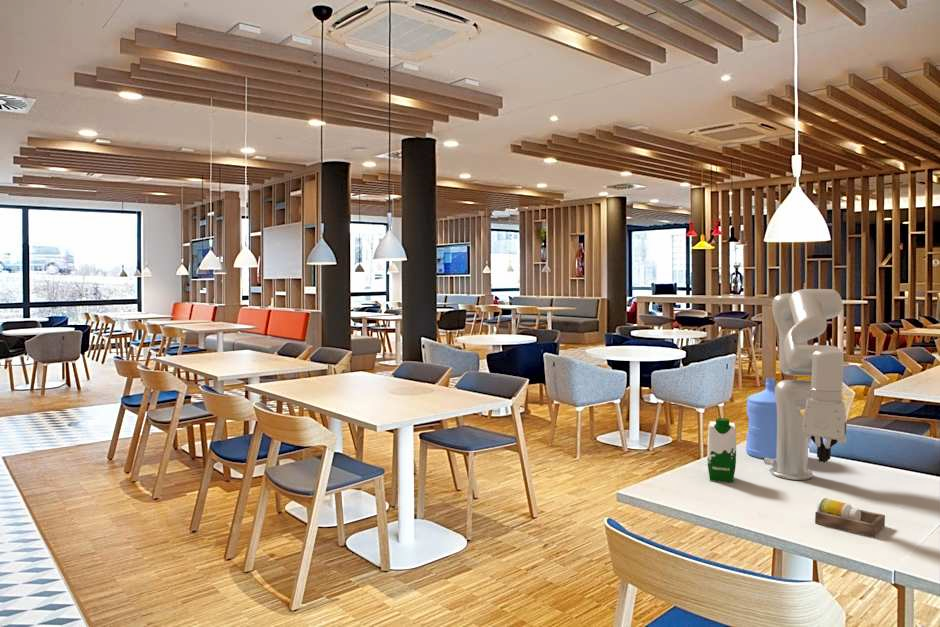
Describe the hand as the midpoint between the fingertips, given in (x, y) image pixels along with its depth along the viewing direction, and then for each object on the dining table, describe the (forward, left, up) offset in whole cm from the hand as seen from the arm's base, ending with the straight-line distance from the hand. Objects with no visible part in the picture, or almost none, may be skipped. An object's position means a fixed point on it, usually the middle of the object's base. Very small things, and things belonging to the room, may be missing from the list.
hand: (823, 460), depth 191 cm
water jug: (-35, +54, -16) cm, 66 cm away
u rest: (+7, -2, -16) cm, 17 cm away
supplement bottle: (0, 0, -13) cm, 13 cm away
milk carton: (-35, +14, -16) cm, 41 cm away
